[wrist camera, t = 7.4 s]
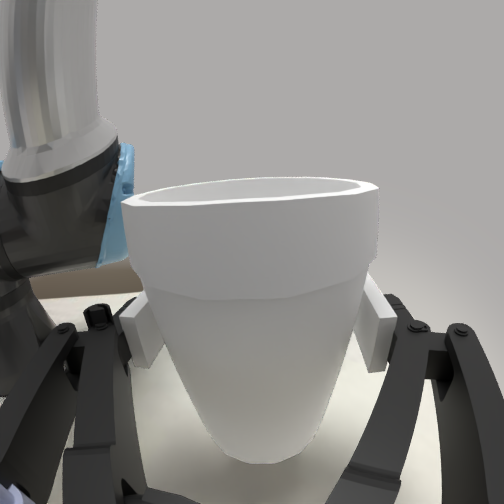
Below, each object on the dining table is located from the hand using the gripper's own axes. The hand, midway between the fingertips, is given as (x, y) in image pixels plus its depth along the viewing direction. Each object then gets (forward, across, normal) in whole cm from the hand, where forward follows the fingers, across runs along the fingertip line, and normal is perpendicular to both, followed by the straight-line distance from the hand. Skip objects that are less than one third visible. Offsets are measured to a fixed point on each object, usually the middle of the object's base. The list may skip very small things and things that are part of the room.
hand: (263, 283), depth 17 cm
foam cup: (-4, 0, -7) cm, 8 cm away
